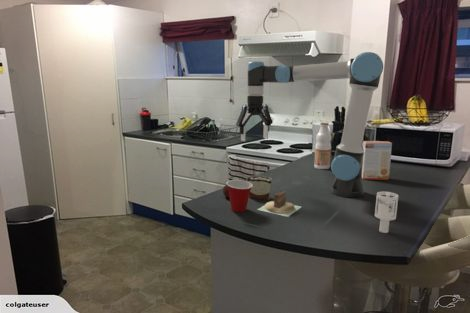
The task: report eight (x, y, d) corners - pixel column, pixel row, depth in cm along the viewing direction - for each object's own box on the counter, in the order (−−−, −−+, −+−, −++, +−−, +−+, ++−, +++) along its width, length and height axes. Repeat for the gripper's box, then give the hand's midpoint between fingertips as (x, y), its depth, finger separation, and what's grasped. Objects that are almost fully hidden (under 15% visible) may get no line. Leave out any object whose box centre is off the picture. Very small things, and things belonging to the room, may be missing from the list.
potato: (229, 193, 172) (229, 181, 171) (245, 198, 166) (245, 185, 165) (218, 197, 167) (218, 184, 166) (235, 202, 161) (235, 188, 159)
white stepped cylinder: (373, 233, 129) (377, 192, 126) (373, 226, 135) (377, 187, 132) (394, 236, 127) (399, 195, 123) (393, 229, 133) (398, 189, 130)
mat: (301, 208, 154) (301, 206, 154) (287, 218, 142) (288, 216, 142) (272, 201, 161) (272, 200, 161) (256, 211, 150) (256, 209, 150)
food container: (275, 197, 167) (275, 176, 165) (272, 201, 162) (272, 179, 160) (249, 194, 171) (250, 174, 169) (245, 198, 166) (246, 177, 164)
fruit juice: (311, 167, 226) (313, 122, 220) (319, 165, 233) (322, 121, 227) (324, 170, 220) (327, 124, 214) (332, 167, 226) (335, 123, 220)
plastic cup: (250, 216, 143) (250, 187, 141) (223, 214, 145) (223, 185, 143) (254, 207, 154) (254, 180, 151) (229, 205, 156) (229, 178, 153)
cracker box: (385, 177, 204) (389, 140, 200) (388, 180, 199) (392, 142, 194) (360, 176, 206) (363, 140, 201) (362, 179, 200) (365, 142, 196)
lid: (298, 206, 153) (299, 191, 152) (286, 215, 144) (287, 199, 142) (273, 201, 160) (273, 187, 158) (260, 209, 150) (260, 194, 148)
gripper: (270, 94, 181) (269, 136, 186) (228, 95, 168) (228, 140, 172) (280, 95, 175) (279, 138, 180) (238, 96, 162) (237, 143, 166)
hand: (254, 139), depth 176 cm, fingers open, 13 cm apart
